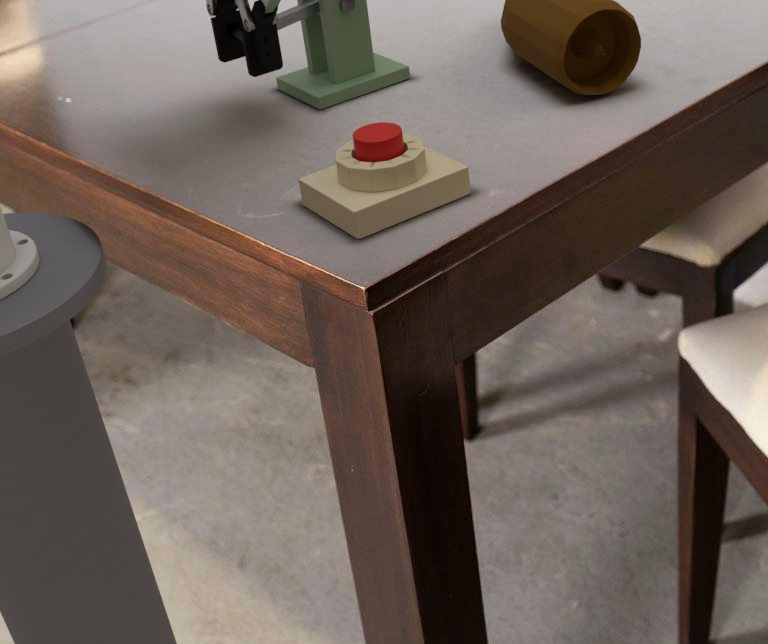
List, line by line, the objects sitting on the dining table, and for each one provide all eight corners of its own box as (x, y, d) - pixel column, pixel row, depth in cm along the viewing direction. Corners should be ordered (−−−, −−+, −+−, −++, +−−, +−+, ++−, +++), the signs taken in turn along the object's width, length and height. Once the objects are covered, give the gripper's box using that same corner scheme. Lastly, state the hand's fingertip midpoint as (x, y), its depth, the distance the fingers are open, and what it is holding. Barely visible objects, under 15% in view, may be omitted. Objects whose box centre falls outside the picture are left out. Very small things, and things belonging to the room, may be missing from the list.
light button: (372, 169, 79) (369, 146, 78) (346, 155, 82) (343, 132, 81) (413, 153, 80) (411, 130, 79) (386, 140, 83) (384, 117, 82)
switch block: (358, 240, 78) (350, 188, 76) (302, 205, 84) (293, 156, 82) (470, 193, 82) (466, 143, 80) (410, 163, 88) (405, 115, 86)
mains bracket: (319, 110, 100) (302, 0, 94) (277, 89, 106) (259, -15, 100) (410, 78, 104) (399, -29, 98) (365, 60, 110) (351, -42, 104)
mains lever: (256, 57, 96) (248, 31, 94) (230, 46, 100) (223, 20, 98) (361, 10, 100) (355, -16, 98) (333, 1, 103) (327, -25, 102)
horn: (523, 41, 116) (642, 117, 96) (439, 12, 112) (546, 86, 92) (554, -35, 113) (684, 28, 93) (469, -67, 108) (586, -9, 88)
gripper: (126, -157, 93) (173, 56, 103) (214, -140, 81) (258, 100, 91) (206, -173, 96) (244, 35, 106) (302, -160, 84) (335, 74, 94)
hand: (250, 62), depth 99 cm, fingers closed on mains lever, 5 cm apart
